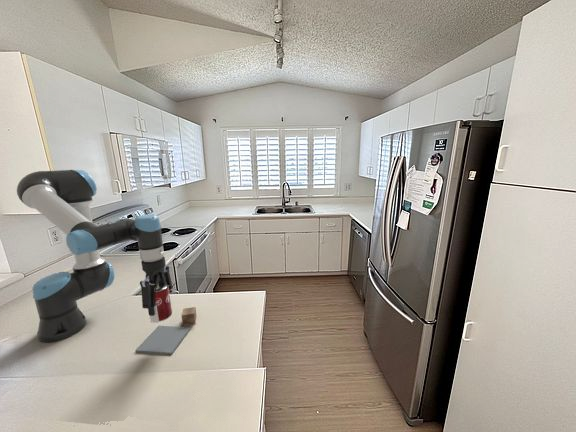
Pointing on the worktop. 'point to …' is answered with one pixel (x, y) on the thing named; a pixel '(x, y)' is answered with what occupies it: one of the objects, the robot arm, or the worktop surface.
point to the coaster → (163, 340)
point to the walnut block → (189, 316)
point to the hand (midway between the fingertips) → (161, 315)
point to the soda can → (163, 302)
